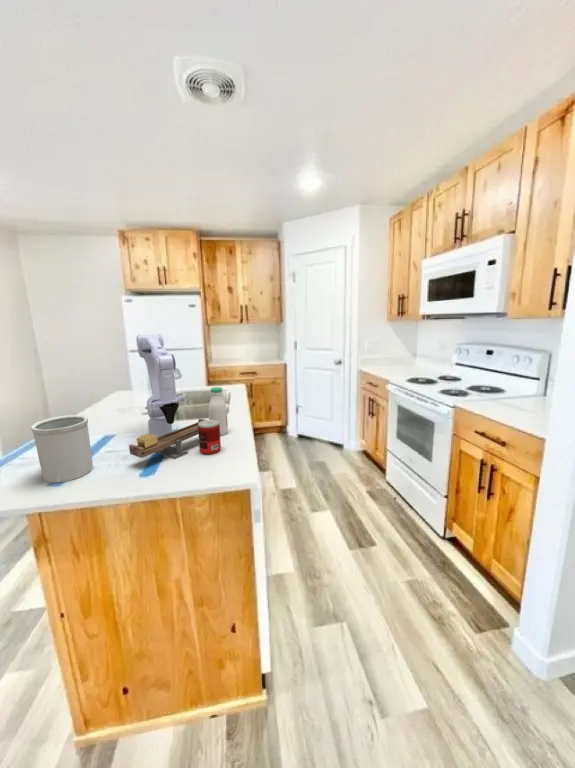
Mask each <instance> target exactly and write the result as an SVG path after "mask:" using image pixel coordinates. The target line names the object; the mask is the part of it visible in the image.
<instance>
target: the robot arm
mask: <svg viewBox="0 0 575 768" xmlns="http://www.w3.org/2000/svg"><path fill="white" fill-rule="evenodd" d="M135 340H136V347H137V352H138V355H139V357H140V358H142V359H144V362H145V364H146V370H147V375H148V379H149V384H150V391H151V396H150V397H149V398H147V401H146V408H147V409H146V410H147V414H148V417H149V419H148V421H147V427H148V428H147V429H148V434H149V433H150V434H154V435H157V438H158V437H160V436H163V435H166V434H168V433H171V432H173V425H172V424H174V423H175V417H176V414H177V410H178V409H179V403H181V402H186V401H187V398H186V397H187V396H186V395H178V396H177V391H176V388H177V387H176V379H175V370H176V367H177V366H176V358H175V355H174V353H172V354H170V353H169V352H168V350H167V348H165V347H164V345H165V344H164V336H163V335H162V334H161V333H159V334H144V335H143V334H142V335H141V334H137V336H136V339H135Z"/></svg>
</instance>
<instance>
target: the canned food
mask: <svg viewBox="0 0 575 768" xmlns="http://www.w3.org/2000/svg"><path fill="white" fill-rule="evenodd" d="M198 446H199V452H200V453H201V454H202V455H215V454H218V453H219V452H220V451H221V448H222V446H221V435H220V425H219V421H217V420H209V419H205V420H204V421H201V422H199V423H198Z"/></svg>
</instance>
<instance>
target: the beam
mask: <svg viewBox="0 0 575 768" xmlns="http://www.w3.org/2000/svg"><path fill="white" fill-rule="evenodd" d="M204 420H206V419H204V418H198V420H197V422H195V423H192V424H189V425H186V426H184V427H182V428H179V429H177V430H174V431H172V432H171V433H168V434H166V435H163V436H161V437H158V438H157V441H158V445H156V446H153V447H151V448H148V449H146V450H144V448H142V447H139V446H138V445H136V444H133V443H130V444H128V449H129V454H130V455H131V456H135V457H138V458H141V459H143V458H146V457H149V456H151V455H153V454H156V453H155V452H158V451H160V450H163V449H165V448H167V447H170V446H171V447H173V446H174V445H176V444H175V441H176V440H181V442H183V441H184V442H185V441H186V440H188V439H191V438H193V437H195V436H197V435H198V436H199V434H198V423H199V422H201V421H204Z"/></svg>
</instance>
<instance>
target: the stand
mask: <svg viewBox="0 0 575 768" xmlns="http://www.w3.org/2000/svg"><path fill="white" fill-rule="evenodd" d="M160 437H161V436H160ZM174 445H175V447H174V446H170V447H167V448H165V449H163V450H160V451H158V452H155V453H154V454H157V455H161V456H163V457H167V458H170V459H173V460H176V459H178V458H180V457H183V456H185V455H188V454H189V451H188V450H184V449H182V441H181V440H176V441H175V444H174Z"/></svg>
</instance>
